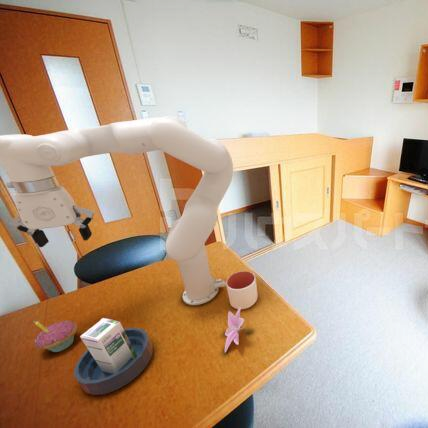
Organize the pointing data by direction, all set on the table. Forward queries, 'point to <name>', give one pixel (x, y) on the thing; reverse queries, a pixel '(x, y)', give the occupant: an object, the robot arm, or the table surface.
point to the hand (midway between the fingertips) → (66, 241)
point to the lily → (233, 328)
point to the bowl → (105, 382)
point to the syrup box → (109, 345)
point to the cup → (242, 289)
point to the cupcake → (56, 336)
